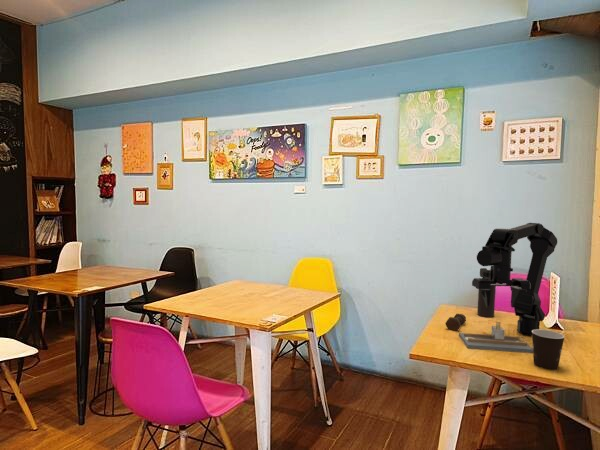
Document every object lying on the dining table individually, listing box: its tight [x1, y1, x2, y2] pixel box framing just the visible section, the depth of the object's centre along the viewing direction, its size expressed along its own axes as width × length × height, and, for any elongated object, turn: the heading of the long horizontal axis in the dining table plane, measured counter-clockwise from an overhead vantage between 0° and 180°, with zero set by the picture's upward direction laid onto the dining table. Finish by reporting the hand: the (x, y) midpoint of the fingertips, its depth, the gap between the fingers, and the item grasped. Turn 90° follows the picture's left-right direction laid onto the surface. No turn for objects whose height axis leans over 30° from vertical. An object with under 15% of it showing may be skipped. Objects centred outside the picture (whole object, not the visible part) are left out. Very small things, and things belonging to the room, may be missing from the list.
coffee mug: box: [531, 328, 565, 371], centre depth 126 cm, size 12×9×10 cm
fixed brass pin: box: [518, 336, 526, 342], centre depth 142 cm, size 2×2×2 cm
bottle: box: [476, 277, 497, 318], centre depth 179 cm, size 7×7×20 cm
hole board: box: [458, 332, 533, 354], centre depth 144 cm, size 21×13×2 cm, turn 81°
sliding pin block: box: [490, 321, 506, 341], centre depth 143 cm, size 3×4×6 cm
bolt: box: [445, 313, 467, 332], centre depth 163 cm, size 6×5×15 cm
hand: (499, 307), depth 146 cm, fingers open, 9 cm apart
